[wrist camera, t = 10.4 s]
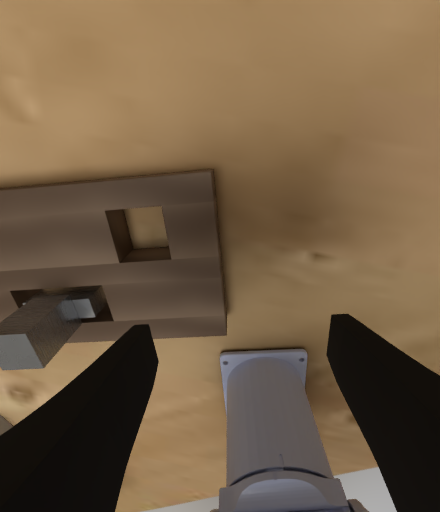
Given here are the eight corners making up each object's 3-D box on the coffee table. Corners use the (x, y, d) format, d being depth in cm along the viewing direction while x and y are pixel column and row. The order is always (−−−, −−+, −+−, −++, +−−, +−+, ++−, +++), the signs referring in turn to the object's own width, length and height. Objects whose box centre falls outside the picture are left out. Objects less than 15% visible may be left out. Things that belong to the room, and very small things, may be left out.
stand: (226, 315, 20) (226, 335, 18) (31, 325, 22) (8, 345, 19) (213, 169, 16) (210, 171, 13) (-36, 192, 17) (-78, 197, 15)
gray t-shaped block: (115, 299, 20) (62, 367, 14) (60, 303, 21) (-16, 371, 14) (106, 273, 19) (45, 332, 13) (48, 277, 20) (-39, 337, 13)
